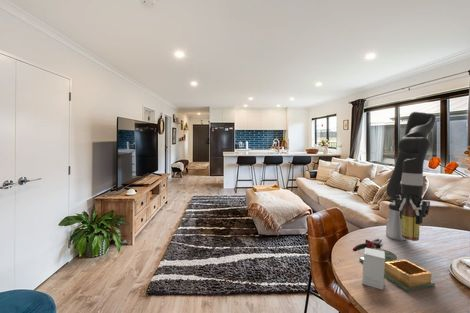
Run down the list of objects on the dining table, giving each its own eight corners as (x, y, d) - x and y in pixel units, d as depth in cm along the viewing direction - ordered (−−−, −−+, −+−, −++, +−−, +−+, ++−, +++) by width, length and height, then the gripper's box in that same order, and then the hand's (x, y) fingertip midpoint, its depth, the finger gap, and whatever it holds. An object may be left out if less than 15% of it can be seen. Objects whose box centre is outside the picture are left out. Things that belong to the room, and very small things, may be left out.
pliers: (368, 252, 117) (388, 240, 129) (351, 246, 124) (372, 234, 136) (368, 258, 117) (388, 245, 130) (351, 251, 124) (372, 239, 137)
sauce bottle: (415, 237, 104) (417, 192, 103) (421, 242, 98) (424, 195, 97) (398, 235, 106) (400, 191, 105) (403, 240, 100) (405, 194, 99)
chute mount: (359, 260, 113) (359, 249, 112) (383, 257, 116) (383, 246, 116) (407, 291, 90) (407, 277, 89) (434, 286, 93) (435, 273, 93)
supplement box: (383, 290, 90) (385, 258, 89) (361, 284, 94) (363, 253, 93) (383, 280, 97) (385, 251, 96) (363, 275, 100) (364, 246, 100)
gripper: (436, 185, 95) (434, 226, 96) (402, 180, 109) (401, 216, 110) (422, 186, 93) (420, 227, 94) (390, 181, 107) (388, 217, 108)
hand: (410, 221), depth 102 cm, fingers closed on sauce bottle, 6 cm apart
